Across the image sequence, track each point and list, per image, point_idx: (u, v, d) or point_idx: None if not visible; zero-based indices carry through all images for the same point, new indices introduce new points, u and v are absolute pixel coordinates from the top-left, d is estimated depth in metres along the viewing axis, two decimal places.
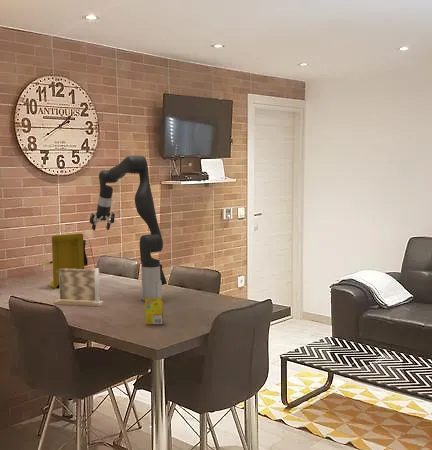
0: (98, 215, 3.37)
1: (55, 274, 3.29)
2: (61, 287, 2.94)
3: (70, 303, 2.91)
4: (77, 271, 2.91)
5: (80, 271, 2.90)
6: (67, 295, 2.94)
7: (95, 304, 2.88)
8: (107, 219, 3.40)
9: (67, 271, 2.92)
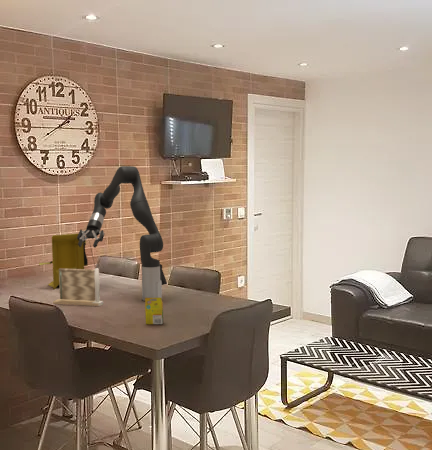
0: (86, 231, 3.24)
1: (55, 274, 3.29)
2: (61, 287, 2.94)
3: (70, 303, 2.91)
4: (77, 271, 2.91)
5: (80, 271, 2.90)
6: (67, 295, 2.94)
7: (95, 304, 2.88)
8: (93, 234, 3.21)
9: (67, 271, 2.92)
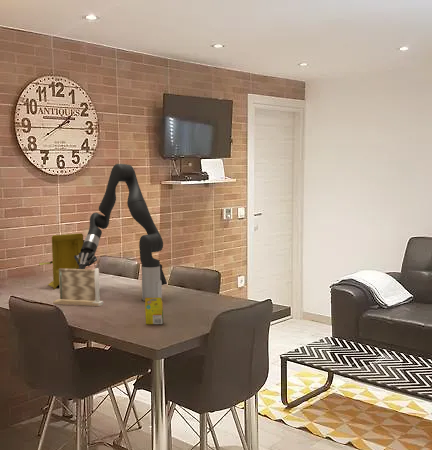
0: (80, 253, 3.09)
1: (55, 274, 3.29)
2: (61, 287, 2.94)
3: (70, 303, 2.91)
4: (77, 271, 2.91)
5: (80, 271, 2.90)
6: (67, 295, 2.94)
7: (95, 304, 2.88)
8: (85, 257, 3.06)
9: (67, 271, 2.92)
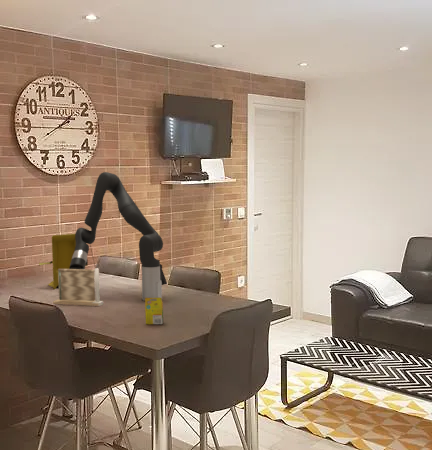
0: None
1: (55, 274, 3.29)
2: (60, 287, 2.93)
3: (70, 303, 2.91)
4: (77, 271, 2.90)
5: (80, 271, 2.90)
6: (66, 295, 2.93)
7: (95, 304, 2.88)
8: None
9: (66, 271, 2.91)
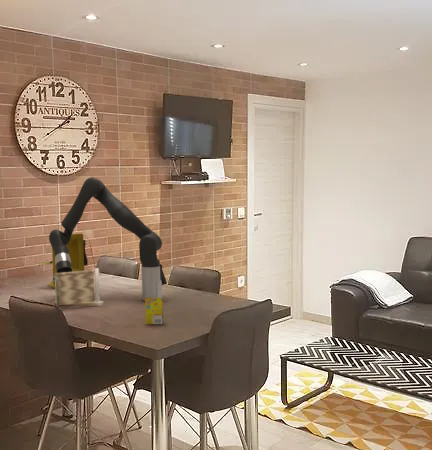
0: None
1: None
2: (58, 292, 2.81)
3: None
4: (76, 273, 2.84)
5: (80, 273, 2.85)
6: (65, 300, 2.83)
7: (95, 304, 2.88)
8: None
9: (65, 275, 2.82)
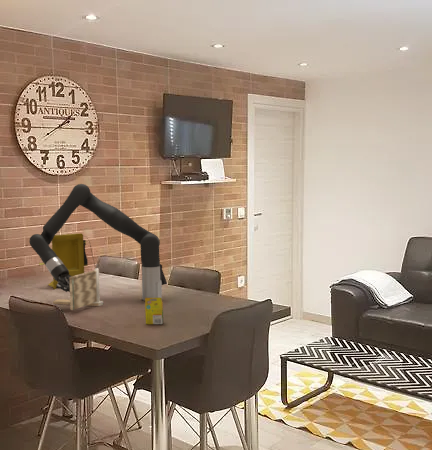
0: (61, 279, 2.78)
1: None
2: (74, 296, 2.73)
3: None
4: (85, 275, 2.80)
5: (87, 274, 2.81)
6: (78, 303, 2.76)
7: (95, 304, 2.88)
8: None
9: (78, 277, 2.75)
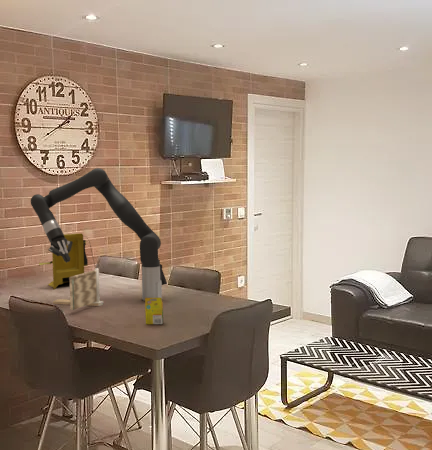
0: (54, 243, 2.86)
1: (55, 274, 3.29)
2: (74, 296, 2.73)
3: None
4: (85, 275, 2.80)
5: (87, 274, 2.81)
6: (78, 303, 2.76)
7: (95, 304, 2.88)
8: (64, 245, 2.88)
9: (78, 277, 2.75)
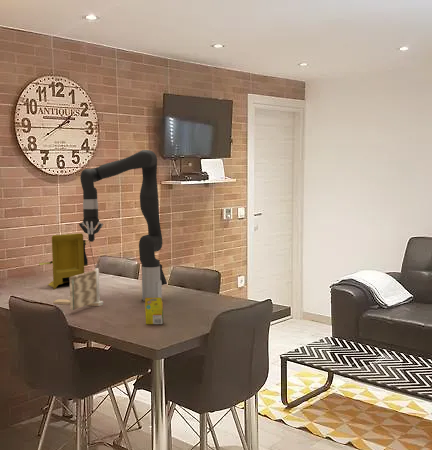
0: (84, 221, 3.04)
1: (55, 274, 3.29)
2: (74, 296, 2.73)
3: None
4: (85, 275, 2.80)
5: (87, 274, 2.81)
6: (78, 303, 2.76)
7: (95, 304, 2.88)
8: (91, 226, 3.03)
9: (78, 277, 2.75)
